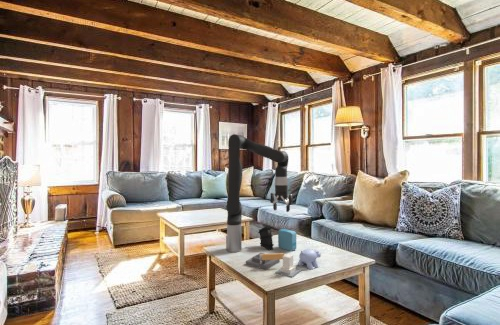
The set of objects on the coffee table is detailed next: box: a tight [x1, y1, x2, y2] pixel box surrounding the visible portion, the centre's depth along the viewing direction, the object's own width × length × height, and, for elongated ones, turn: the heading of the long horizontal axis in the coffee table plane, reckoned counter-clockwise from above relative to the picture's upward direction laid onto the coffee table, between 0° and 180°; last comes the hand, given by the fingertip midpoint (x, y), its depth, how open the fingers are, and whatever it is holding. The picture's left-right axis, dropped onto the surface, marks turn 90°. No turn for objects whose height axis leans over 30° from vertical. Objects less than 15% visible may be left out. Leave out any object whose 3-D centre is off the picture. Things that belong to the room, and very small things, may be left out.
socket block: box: [245, 252, 281, 271], centre depth 166 cm, size 14×14×4 cm
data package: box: [277, 228, 297, 252], centre depth 192 cm, size 12×4×12 cm, turn 43°
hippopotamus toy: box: [297, 248, 322, 270], centre depth 163 cm, size 11×15×10 cm
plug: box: [279, 253, 297, 274], centre depth 153 cm, size 6×6×8 cm
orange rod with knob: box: [258, 252, 285, 260], centre depth 160 cm, size 2×14×3 cm, turn 96°
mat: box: [274, 268, 302, 278], centre depth 153 cm, size 10×10×1 cm
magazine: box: [257, 225, 274, 251], centre depth 194 cm, size 4×13×15 cm, turn 29°
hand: (281, 210), depth 175 cm, fingers open, 8 cm apart
